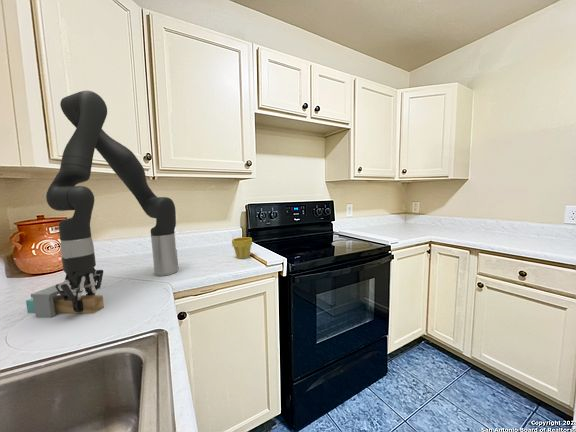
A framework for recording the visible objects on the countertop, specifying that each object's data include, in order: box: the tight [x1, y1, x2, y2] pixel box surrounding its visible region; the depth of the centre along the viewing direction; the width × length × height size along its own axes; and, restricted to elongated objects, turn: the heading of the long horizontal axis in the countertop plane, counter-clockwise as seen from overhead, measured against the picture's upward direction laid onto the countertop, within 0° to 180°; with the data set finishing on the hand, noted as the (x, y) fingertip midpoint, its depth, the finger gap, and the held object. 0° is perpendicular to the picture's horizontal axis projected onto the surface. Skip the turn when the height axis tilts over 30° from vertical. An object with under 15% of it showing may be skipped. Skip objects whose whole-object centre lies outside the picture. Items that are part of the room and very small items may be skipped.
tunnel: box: [30, 282, 78, 318], centre depth 76 cm, size 9×6×7 cm
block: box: [25, 297, 35, 314], centre depth 77 cm, size 4×5×4 cm
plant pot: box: [231, 236, 253, 260], centre depth 129 cm, size 10×10×10 cm
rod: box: [53, 294, 105, 314], centre depth 75 cm, size 4×17×4 cm, turn 85°
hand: (85, 307), depth 75 cm, fingers closed on rod, 3 cm apart
